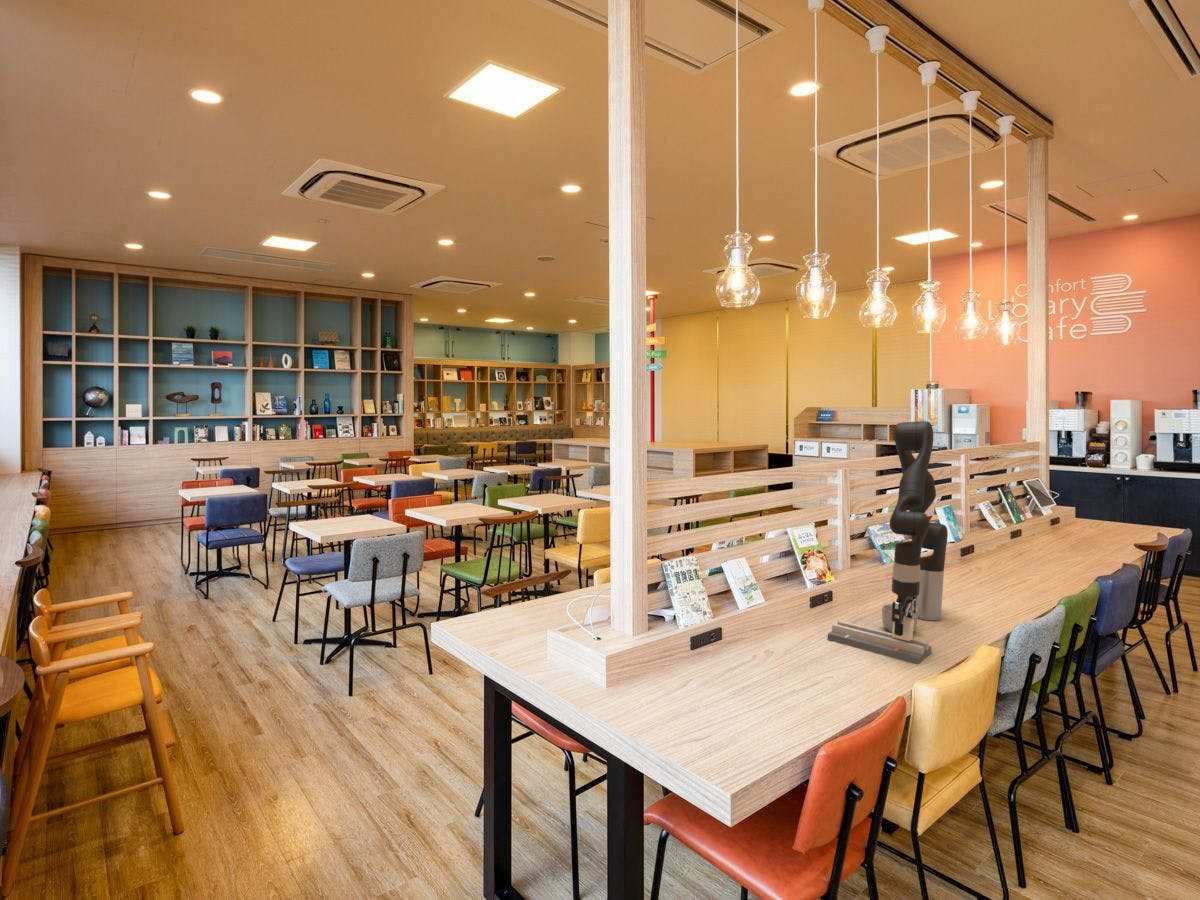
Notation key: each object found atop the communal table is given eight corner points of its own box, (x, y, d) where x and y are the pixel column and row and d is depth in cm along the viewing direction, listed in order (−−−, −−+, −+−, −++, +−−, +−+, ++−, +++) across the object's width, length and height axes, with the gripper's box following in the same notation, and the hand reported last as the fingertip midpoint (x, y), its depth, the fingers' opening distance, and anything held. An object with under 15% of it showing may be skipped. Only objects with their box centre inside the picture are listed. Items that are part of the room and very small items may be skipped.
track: (843, 630, 220) (843, 618, 220) (931, 652, 202) (932, 640, 202) (827, 639, 211) (828, 627, 211) (918, 664, 193) (918, 650, 193)
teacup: (895, 638, 214) (897, 613, 213) (873, 626, 224) (874, 603, 224) (932, 634, 218) (933, 610, 217) (908, 623, 228) (909, 600, 228)
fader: (895, 641, 205) (896, 615, 204) (912, 645, 201) (913, 619, 201) (891, 643, 202) (893, 617, 202) (908, 648, 199) (910, 621, 198)
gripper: (901, 571, 208) (898, 623, 209) (884, 579, 197) (881, 634, 199) (927, 575, 203) (924, 629, 204) (911, 585, 192) (907, 641, 194)
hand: (903, 631), depth 202 cm, fingers open, 7 cm apart
